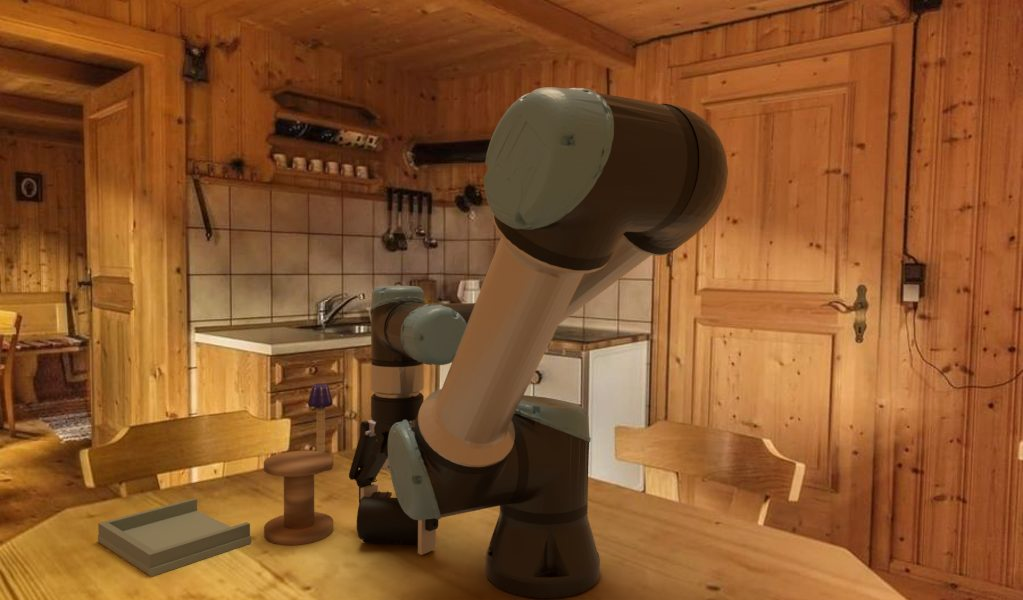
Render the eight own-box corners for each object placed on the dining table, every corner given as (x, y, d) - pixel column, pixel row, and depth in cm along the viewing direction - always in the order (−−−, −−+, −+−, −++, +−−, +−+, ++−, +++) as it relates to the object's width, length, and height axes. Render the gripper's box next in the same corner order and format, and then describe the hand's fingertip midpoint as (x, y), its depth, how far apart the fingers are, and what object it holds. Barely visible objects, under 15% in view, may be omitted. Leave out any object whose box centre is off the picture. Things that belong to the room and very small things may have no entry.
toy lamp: (335, 470, 135) (335, 385, 134) (311, 473, 133) (311, 387, 132) (328, 463, 139) (328, 381, 138) (305, 467, 137) (304, 383, 136)
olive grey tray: (251, 543, 100) (251, 524, 100) (151, 576, 89) (150, 555, 89) (193, 514, 111) (193, 497, 111) (97, 541, 100) (97, 522, 100)
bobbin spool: (347, 530, 105) (347, 459, 105) (289, 551, 98) (288, 474, 97) (307, 514, 112) (307, 447, 111) (250, 532, 104) (250, 460, 103)
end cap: (356, 550, 98) (356, 504, 98) (368, 531, 105) (368, 487, 105) (426, 553, 98) (426, 505, 97) (433, 533, 105) (434, 489, 104)
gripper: (477, 400, 95) (475, 553, 97) (364, 379, 110) (364, 512, 112) (438, 408, 90) (437, 572, 91) (324, 385, 105) (325, 526, 106)
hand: (396, 539), depth 101 cm, fingers closed on end cap, 12 cm apart
